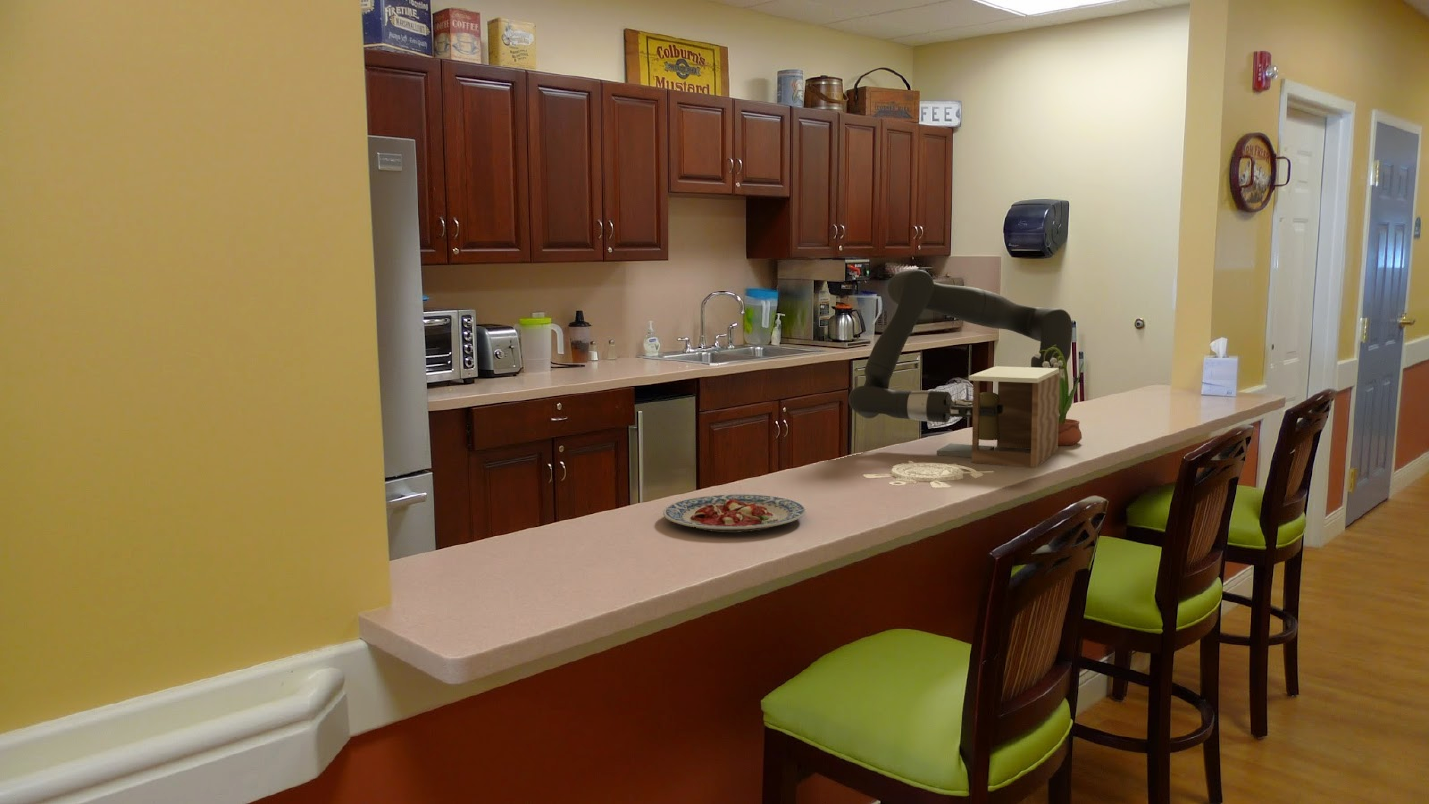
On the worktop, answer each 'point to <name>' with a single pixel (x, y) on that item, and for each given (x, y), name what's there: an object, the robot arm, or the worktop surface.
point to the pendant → (927, 473)
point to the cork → (989, 418)
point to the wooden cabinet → (1020, 415)
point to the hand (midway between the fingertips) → (999, 410)
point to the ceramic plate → (734, 512)
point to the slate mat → (960, 450)
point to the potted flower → (1064, 401)
